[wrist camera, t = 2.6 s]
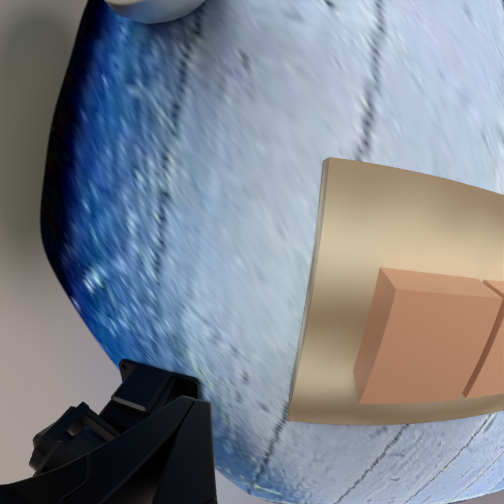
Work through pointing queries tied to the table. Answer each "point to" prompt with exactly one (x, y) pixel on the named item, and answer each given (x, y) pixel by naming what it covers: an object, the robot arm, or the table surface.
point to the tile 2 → (490, 356)
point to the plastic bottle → (154, 9)
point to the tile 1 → (423, 337)
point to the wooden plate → (366, 273)
